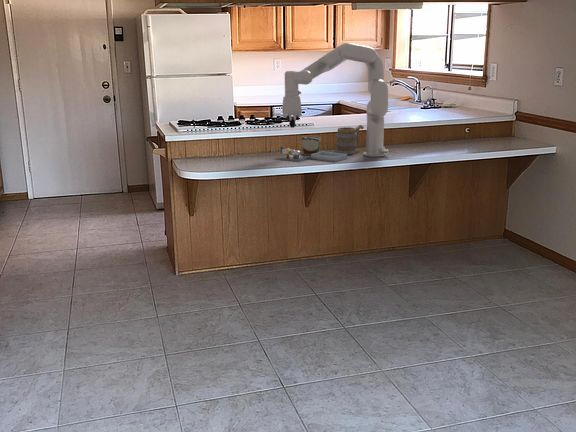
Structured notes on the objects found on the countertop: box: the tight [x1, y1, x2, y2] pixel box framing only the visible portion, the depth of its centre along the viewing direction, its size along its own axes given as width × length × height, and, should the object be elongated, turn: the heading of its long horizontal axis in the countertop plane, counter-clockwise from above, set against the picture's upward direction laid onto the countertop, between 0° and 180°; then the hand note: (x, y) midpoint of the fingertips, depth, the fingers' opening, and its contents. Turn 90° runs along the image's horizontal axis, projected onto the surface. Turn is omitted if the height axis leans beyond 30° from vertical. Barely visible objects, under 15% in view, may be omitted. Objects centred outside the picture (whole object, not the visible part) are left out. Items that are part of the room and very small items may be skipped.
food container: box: [300, 135, 322, 156], centre depth 348 cm, size 12×6×10 cm, turn 59°
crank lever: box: [279, 146, 301, 157], centre depth 336 cm, size 13×4×5 cm, turn 58°
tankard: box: [334, 124, 364, 155], centre depth 353 cm, size 20×13×15 cm, turn 126°
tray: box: [310, 150, 348, 163], centre depth 334 cm, size 16×12×2 cm
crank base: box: [281, 147, 312, 163], centre depth 334 cm, size 13×12×6 cm
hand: (292, 127), depth 337 cm, fingers closed
